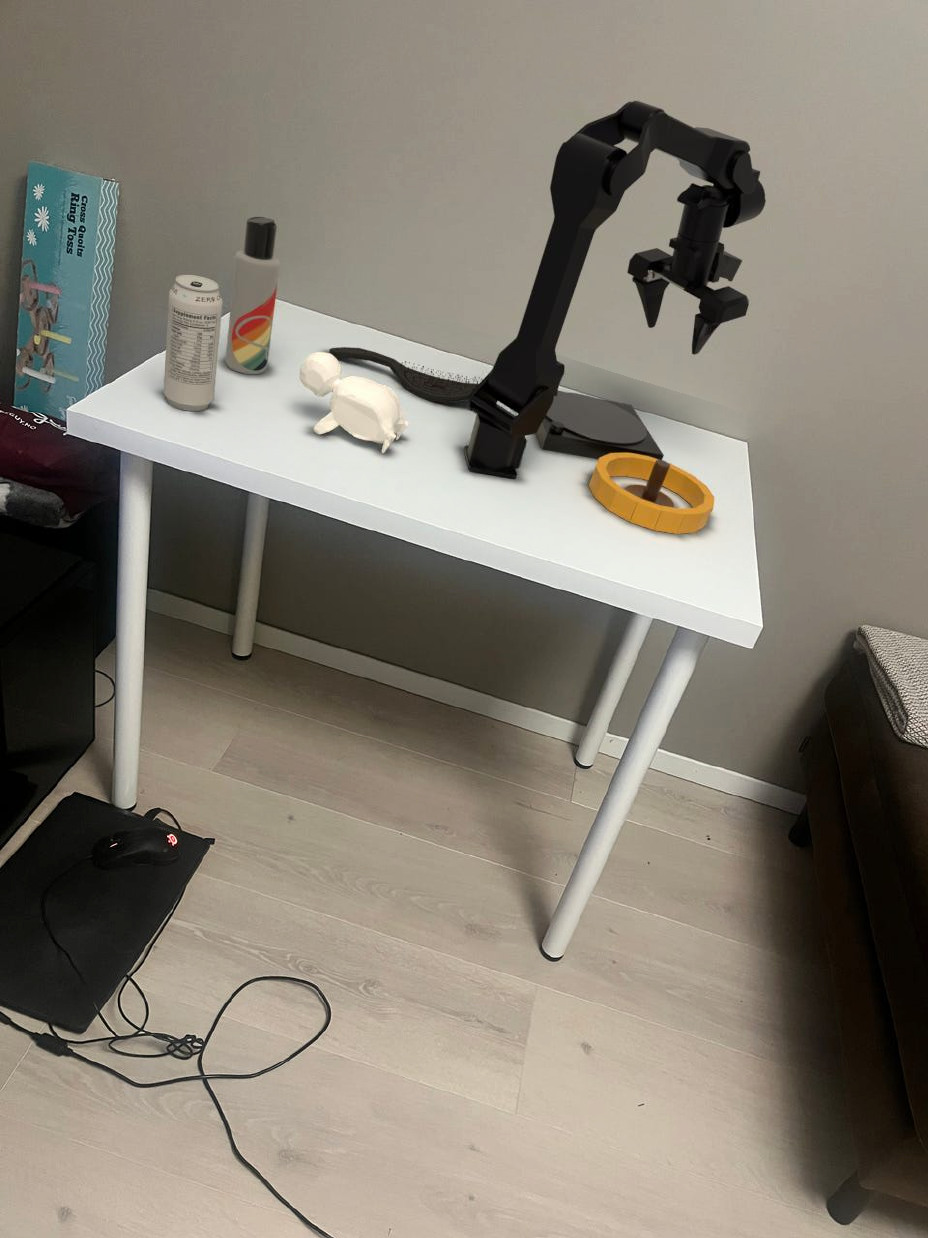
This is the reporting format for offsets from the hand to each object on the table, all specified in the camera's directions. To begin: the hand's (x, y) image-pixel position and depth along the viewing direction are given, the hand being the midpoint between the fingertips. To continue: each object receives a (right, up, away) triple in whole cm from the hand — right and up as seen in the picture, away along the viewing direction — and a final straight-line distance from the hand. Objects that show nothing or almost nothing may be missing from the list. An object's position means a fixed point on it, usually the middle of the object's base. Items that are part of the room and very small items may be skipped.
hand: (672, 340), depth 135 cm
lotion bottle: (-62, -6, -8) cm, 62 cm away
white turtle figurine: (-46, -17, -16) cm, 52 cm away
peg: (-6, -25, -12) cm, 29 cm away
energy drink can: (-66, -14, -21) cm, 70 cm away
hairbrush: (-40, -6, +3) cm, 41 cm away
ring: (-6, -25, -12) cm, 29 cm away
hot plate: (-12, -13, +3) cm, 18 cm away
